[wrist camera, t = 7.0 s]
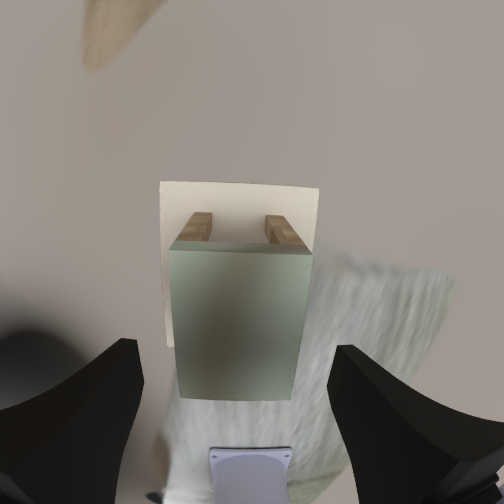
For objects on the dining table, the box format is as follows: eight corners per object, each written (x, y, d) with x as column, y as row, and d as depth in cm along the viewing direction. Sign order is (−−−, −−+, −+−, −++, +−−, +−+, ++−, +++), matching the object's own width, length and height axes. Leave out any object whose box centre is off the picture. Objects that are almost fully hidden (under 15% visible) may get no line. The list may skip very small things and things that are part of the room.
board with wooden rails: (283, 215, 17) (313, 255, 10) (273, 323, 19) (290, 400, 13) (194, 211, 17) (168, 250, 10) (195, 320, 19) (180, 397, 12)
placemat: (296, 347, 20) (297, 350, 20) (168, 343, 20) (167, 347, 19) (317, 187, 17) (319, 188, 17) (161, 180, 16) (159, 181, 16)
